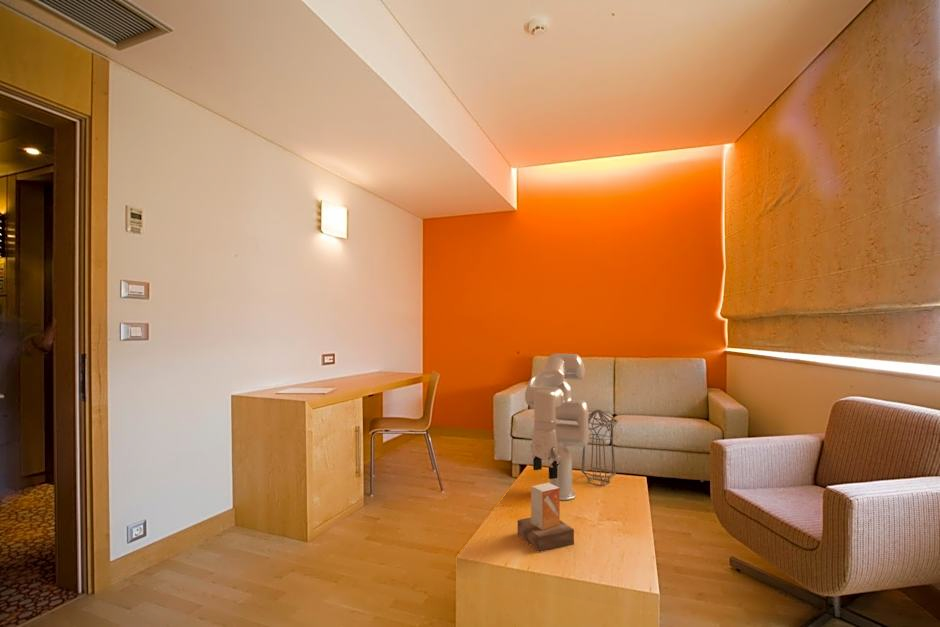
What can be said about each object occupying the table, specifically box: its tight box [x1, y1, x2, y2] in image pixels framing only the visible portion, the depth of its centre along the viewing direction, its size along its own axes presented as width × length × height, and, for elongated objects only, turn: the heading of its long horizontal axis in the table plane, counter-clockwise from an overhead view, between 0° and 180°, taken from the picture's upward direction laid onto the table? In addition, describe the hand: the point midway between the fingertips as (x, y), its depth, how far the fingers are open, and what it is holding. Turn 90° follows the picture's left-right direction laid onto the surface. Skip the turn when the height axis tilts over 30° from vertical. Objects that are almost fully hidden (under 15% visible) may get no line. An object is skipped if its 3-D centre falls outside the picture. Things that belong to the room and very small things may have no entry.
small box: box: [530, 482, 561, 530], centre depth 151 cm, size 8×6×13 cm
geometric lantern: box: [580, 409, 620, 487], centre depth 211 cm, size 16×16×35 cm
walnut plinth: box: [517, 517, 575, 553], centre depth 151 cm, size 14×14×5 cm
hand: (545, 473), depth 152 cm, fingers open, 9 cm apart
